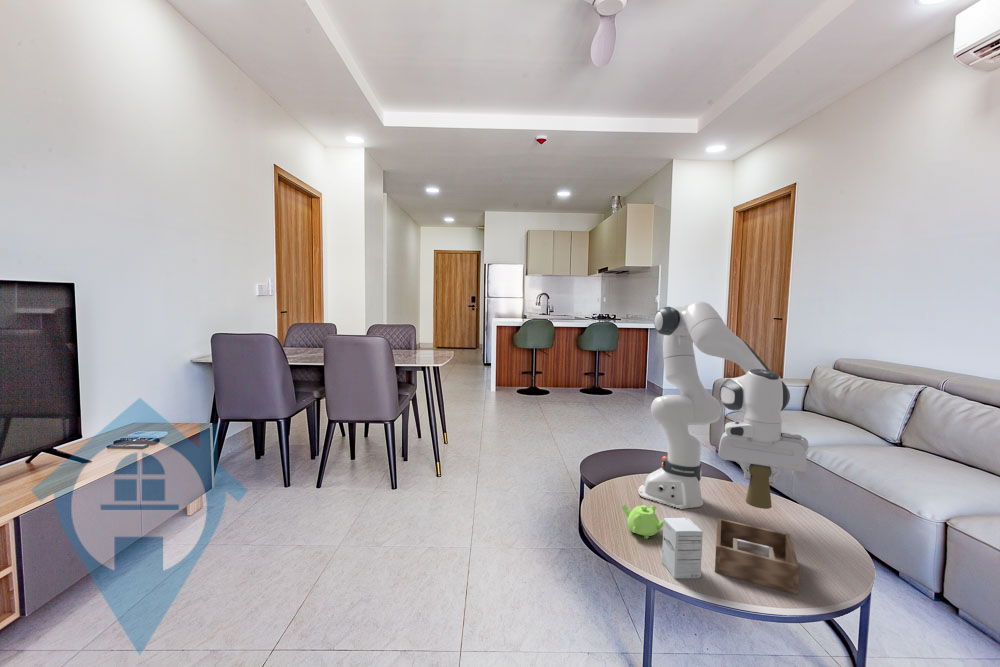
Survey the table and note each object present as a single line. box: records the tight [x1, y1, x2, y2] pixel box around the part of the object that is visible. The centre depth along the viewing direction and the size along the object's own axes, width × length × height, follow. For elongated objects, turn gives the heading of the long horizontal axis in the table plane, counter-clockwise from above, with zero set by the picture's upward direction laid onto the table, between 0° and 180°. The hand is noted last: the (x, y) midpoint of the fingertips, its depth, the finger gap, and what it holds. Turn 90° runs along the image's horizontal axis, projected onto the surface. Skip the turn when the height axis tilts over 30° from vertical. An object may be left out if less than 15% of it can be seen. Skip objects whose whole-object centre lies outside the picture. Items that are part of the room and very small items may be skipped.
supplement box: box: [661, 517, 704, 579], centre depth 111 cm, size 7×7×13 cm
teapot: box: [620, 504, 664, 539], centre depth 131 cm, size 11×12×8 cm
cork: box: [745, 463, 773, 510], centre depth 114 cm, size 6×6×11 cm
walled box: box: [714, 517, 800, 595], centre depth 115 cm, size 18×18×7 cm
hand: (759, 480), depth 114 cm, fingers closed on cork, 4 cm apart
